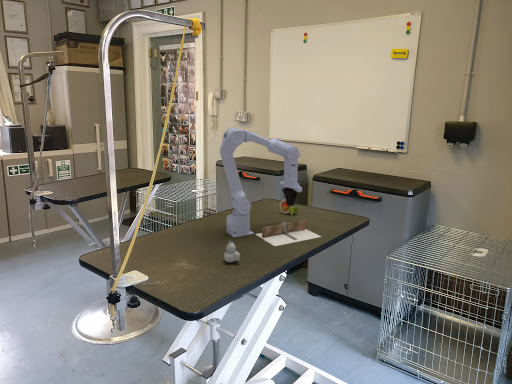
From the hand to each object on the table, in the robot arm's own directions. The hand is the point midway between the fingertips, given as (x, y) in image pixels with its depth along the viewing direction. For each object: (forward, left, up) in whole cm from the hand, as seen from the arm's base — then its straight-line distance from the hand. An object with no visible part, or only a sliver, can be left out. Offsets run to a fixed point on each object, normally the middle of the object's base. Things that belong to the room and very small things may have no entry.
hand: (290, 205), depth 174 cm
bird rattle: (+10, +19, -11) cm, 24 cm away
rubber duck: (-38, -21, -11) cm, 45 cm away
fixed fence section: (-11, -5, -10) cm, 16 cm away
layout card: (-7, -8, -10) cm, 15 cm away
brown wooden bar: (-1, -5, -10) cm, 11 cm away
